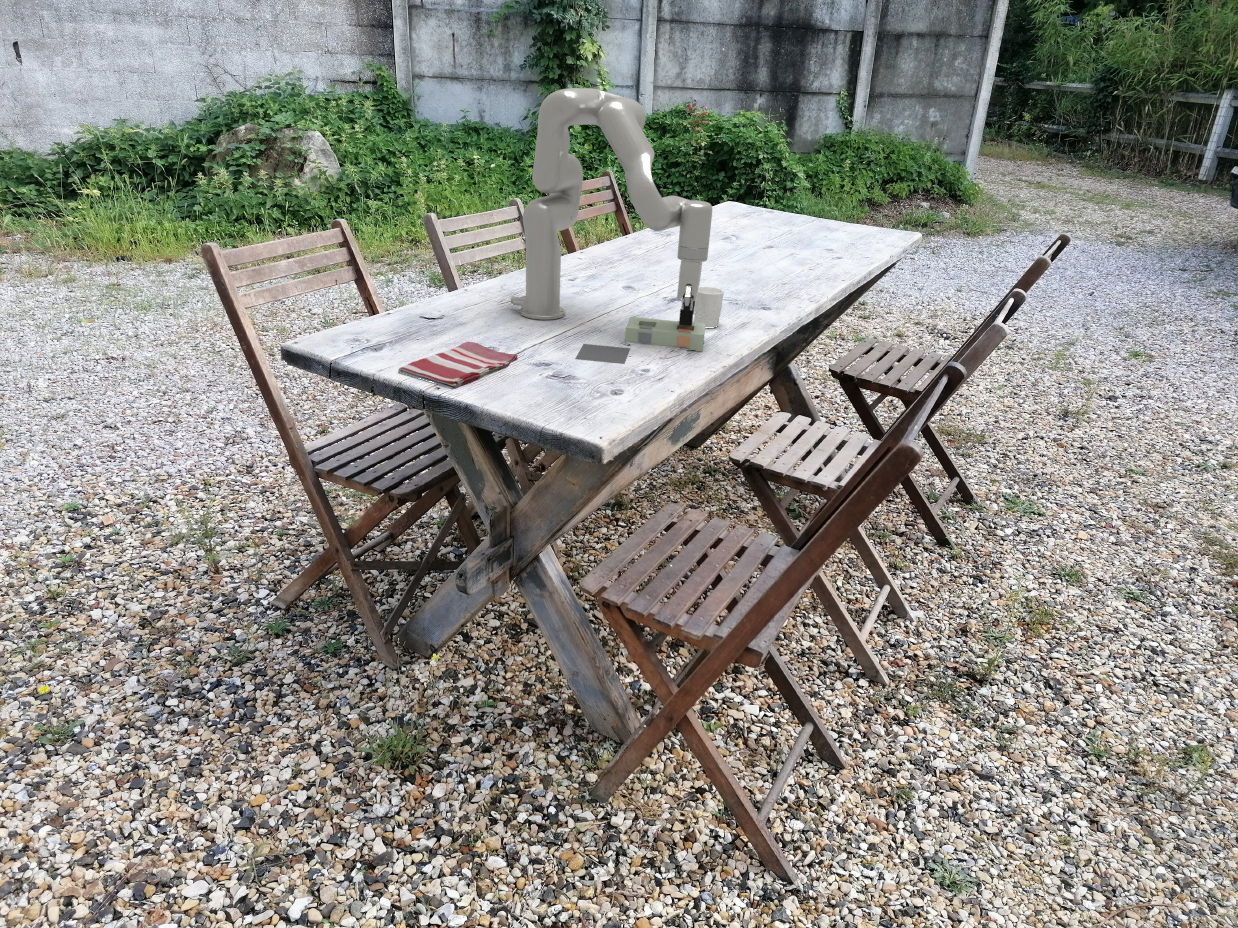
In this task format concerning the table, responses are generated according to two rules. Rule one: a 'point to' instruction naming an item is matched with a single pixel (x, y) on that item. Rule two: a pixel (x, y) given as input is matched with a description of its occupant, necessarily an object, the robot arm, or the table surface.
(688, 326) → the dowel
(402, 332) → the table surface
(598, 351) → the mat
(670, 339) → the socket block
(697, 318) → the white cup
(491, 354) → the dish towel
